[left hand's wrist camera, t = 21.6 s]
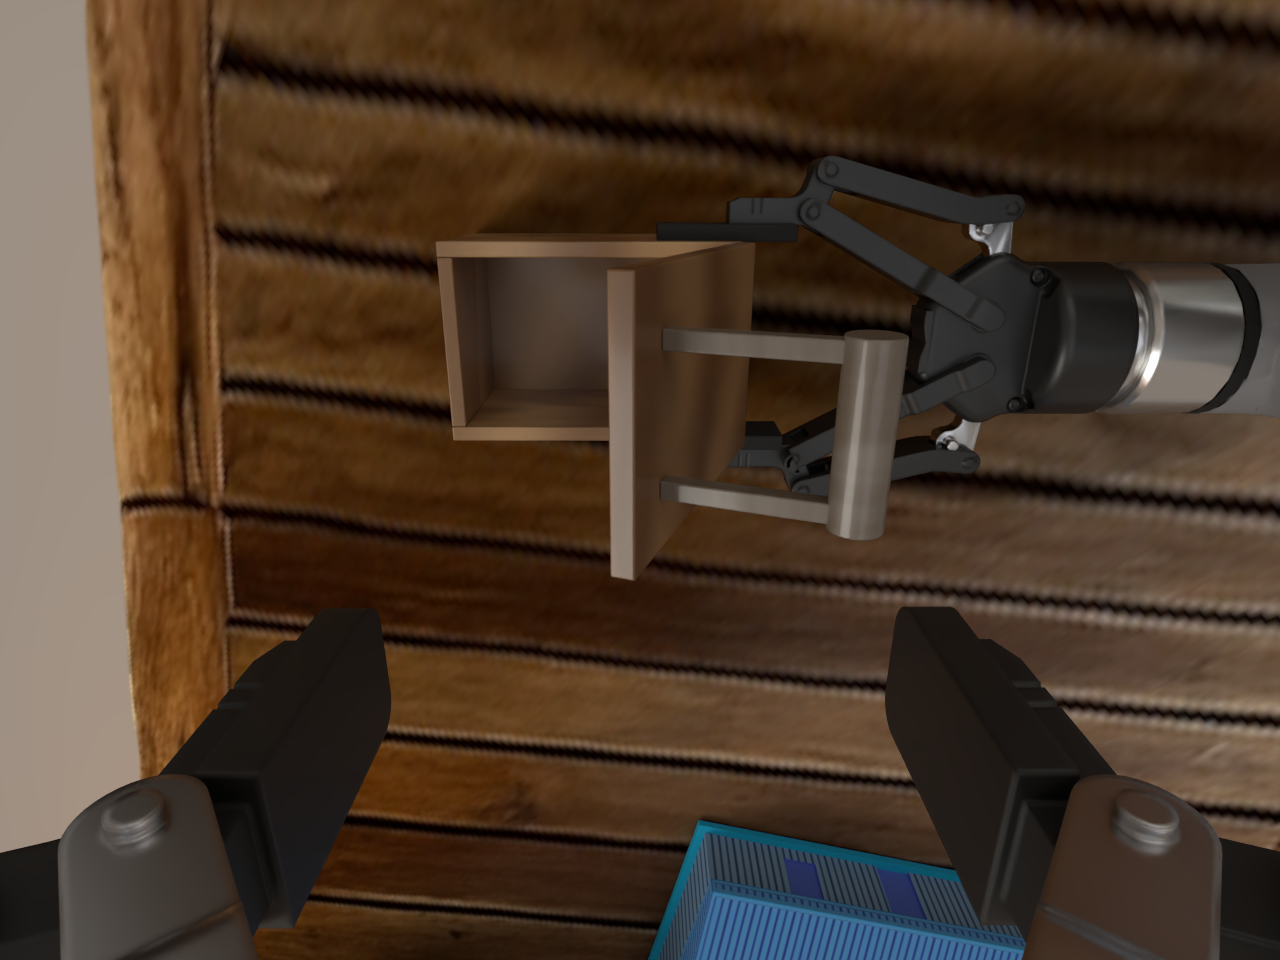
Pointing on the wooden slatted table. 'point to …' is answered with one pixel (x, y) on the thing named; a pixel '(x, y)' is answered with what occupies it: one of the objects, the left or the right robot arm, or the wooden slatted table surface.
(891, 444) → the lid
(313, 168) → the wooden slatted table surface
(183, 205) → the wooden slatted table surface
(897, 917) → the model building
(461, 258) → the chest
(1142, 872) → the left robot arm
